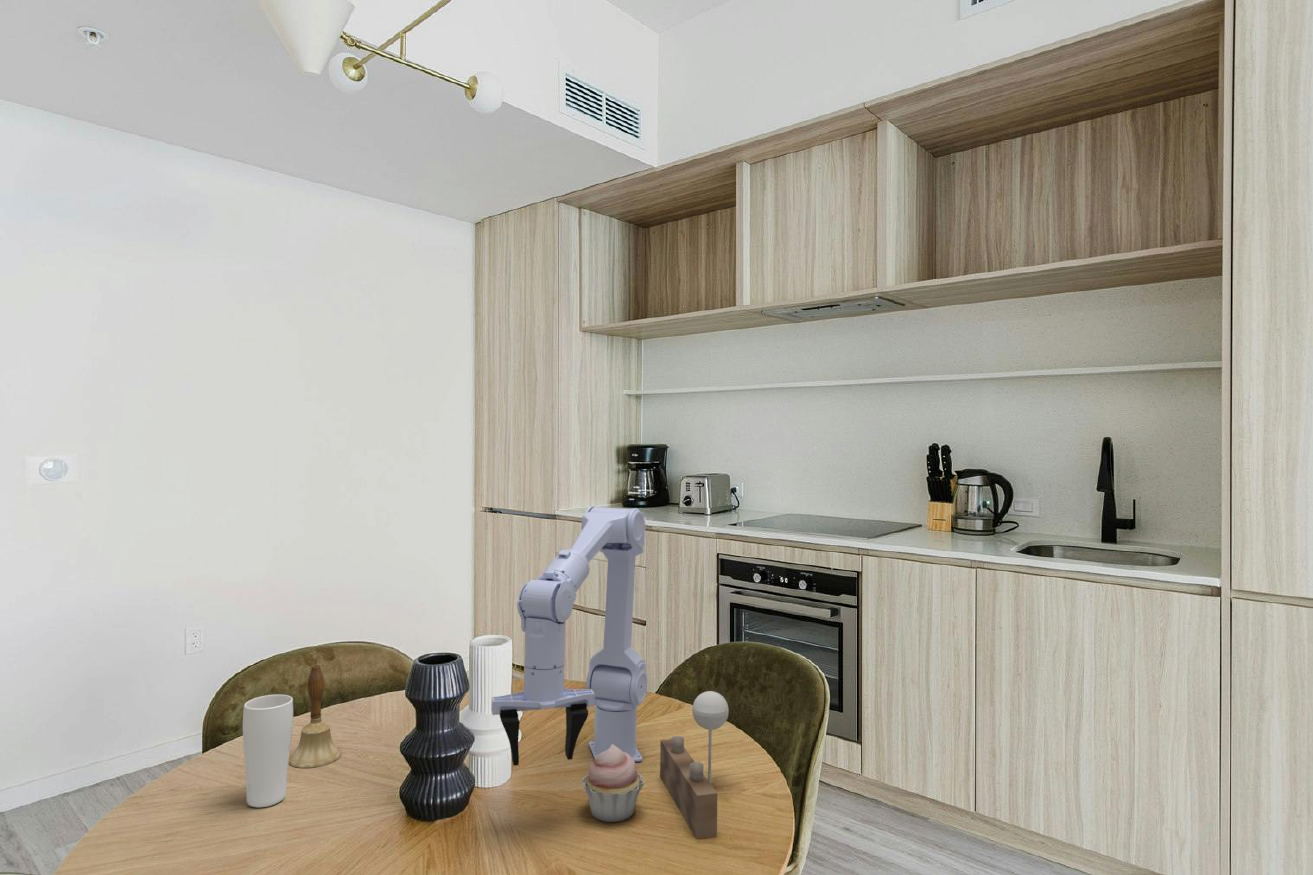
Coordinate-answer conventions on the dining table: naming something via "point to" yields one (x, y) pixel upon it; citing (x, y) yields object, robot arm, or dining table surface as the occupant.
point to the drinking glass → (267, 748)
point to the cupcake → (612, 785)
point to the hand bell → (315, 731)
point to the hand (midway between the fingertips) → (542, 759)
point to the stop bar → (689, 787)
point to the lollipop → (710, 715)
